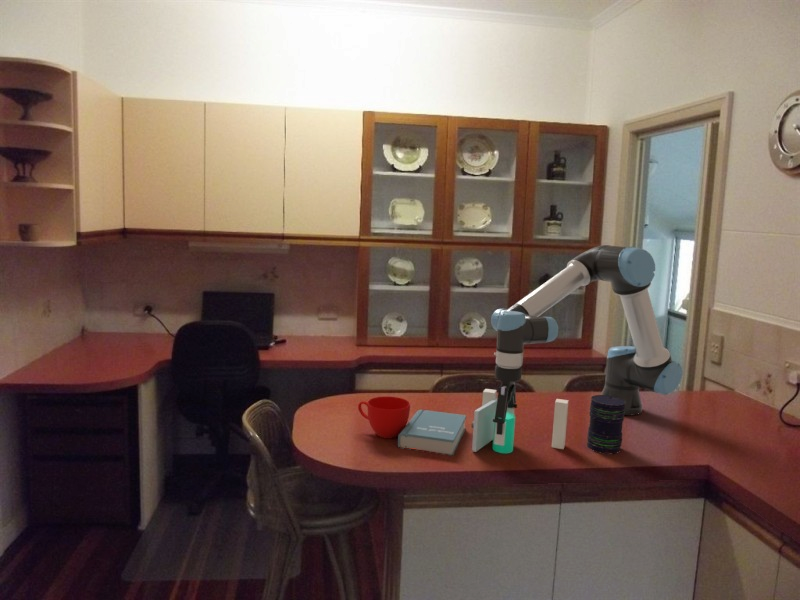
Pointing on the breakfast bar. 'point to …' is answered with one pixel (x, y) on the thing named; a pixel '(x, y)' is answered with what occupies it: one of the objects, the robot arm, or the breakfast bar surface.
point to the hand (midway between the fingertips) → (503, 436)
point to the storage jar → (606, 423)
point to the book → (433, 432)
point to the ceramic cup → (387, 415)
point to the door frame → (559, 418)
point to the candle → (506, 435)
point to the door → (483, 425)
